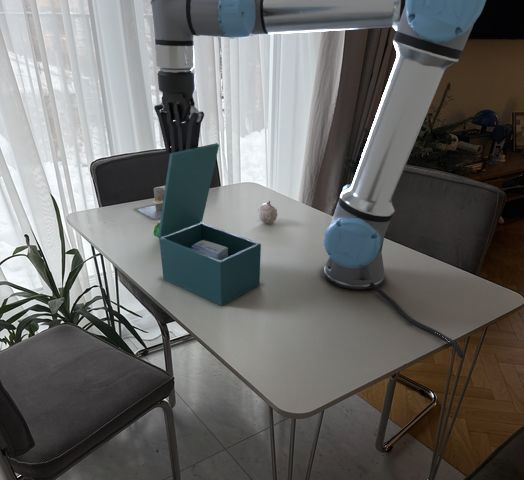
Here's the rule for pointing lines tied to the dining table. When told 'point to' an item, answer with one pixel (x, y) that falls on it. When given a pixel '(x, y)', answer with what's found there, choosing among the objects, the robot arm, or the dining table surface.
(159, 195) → the architectural model
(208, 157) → the lunchbox lid
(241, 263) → the box
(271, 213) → the garlic bulb
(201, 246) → the medicine box
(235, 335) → the dining table surface
